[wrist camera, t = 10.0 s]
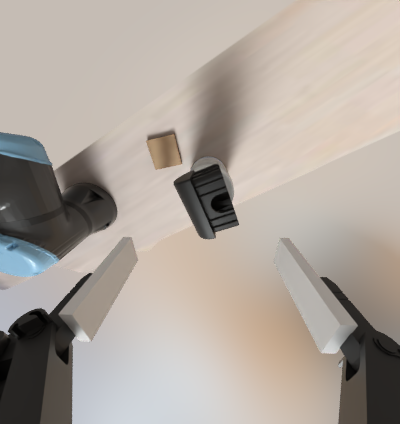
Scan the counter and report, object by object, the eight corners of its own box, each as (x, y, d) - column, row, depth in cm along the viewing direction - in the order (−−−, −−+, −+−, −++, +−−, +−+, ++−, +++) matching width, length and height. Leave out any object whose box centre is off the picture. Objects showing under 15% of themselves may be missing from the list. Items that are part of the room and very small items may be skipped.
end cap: (178, 175, 26) (168, 187, 20) (217, 159, 24) (219, 167, 18) (199, 222, 30) (197, 244, 24) (234, 211, 28) (241, 231, 22)
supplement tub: (186, 161, 39) (174, 174, 26) (222, 151, 37) (229, 159, 24) (196, 195, 43) (190, 221, 30) (229, 187, 41) (238, 211, 28)
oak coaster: (156, 168, 40) (155, 169, 39) (147, 140, 37) (146, 140, 36) (181, 163, 39) (181, 164, 38) (174, 134, 36) (173, 134, 35)
